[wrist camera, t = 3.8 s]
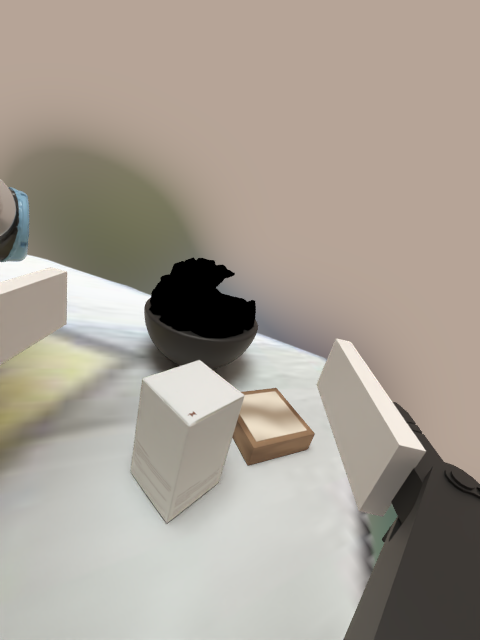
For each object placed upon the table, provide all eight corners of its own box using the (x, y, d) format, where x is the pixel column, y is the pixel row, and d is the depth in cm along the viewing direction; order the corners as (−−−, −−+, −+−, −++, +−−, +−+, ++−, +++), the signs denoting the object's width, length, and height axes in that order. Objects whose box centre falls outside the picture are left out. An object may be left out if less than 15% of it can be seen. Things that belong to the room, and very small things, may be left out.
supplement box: (220, 483, 33) (248, 395, 28) (165, 526, 27) (188, 427, 22) (182, 440, 37) (200, 357, 32) (127, 470, 31) (140, 376, 26)
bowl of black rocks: (208, 330, 67) (226, 252, 60) (265, 379, 54) (296, 287, 47) (122, 340, 54) (131, 242, 47) (169, 408, 41) (192, 286, 34)
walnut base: (217, 410, 43) (222, 393, 42) (271, 402, 48) (276, 387, 47) (247, 465, 36) (254, 447, 34) (307, 449, 41) (314, 433, 39)
